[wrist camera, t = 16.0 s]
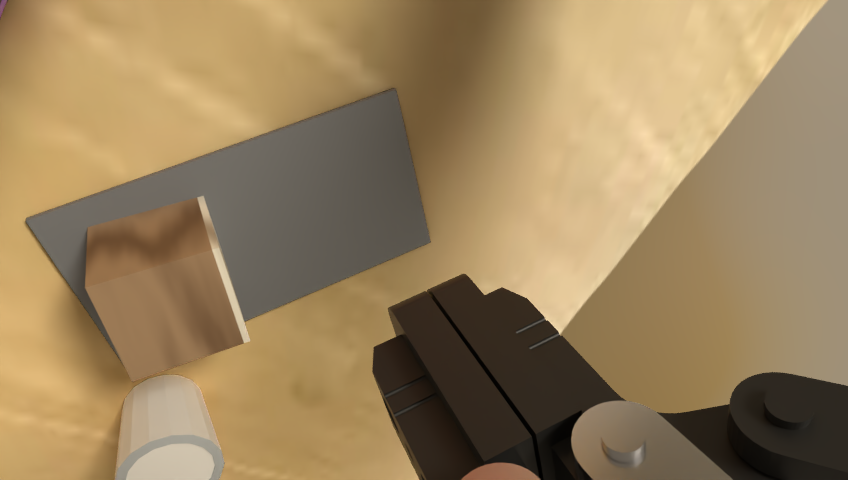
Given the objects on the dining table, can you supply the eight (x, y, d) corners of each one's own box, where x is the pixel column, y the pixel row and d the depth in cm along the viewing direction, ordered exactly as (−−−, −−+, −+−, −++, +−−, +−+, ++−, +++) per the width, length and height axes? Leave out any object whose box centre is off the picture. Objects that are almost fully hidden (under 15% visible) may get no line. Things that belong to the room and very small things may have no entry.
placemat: (394, 88, 42) (396, 89, 42) (428, 240, 50) (430, 242, 50) (26, 218, 37) (25, 221, 36) (127, 367, 44) (127, 371, 44)
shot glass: (110, 374, 44) (111, 446, 38) (212, 362, 47) (226, 427, 41) (114, 445, 47) (116, 522, 41) (209, 430, 50) (222, 499, 44)
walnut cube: (219, 247, 35) (85, 287, 33) (250, 340, 38) (132, 381, 36) (203, 195, 40) (87, 227, 38) (232, 281, 44) (128, 314, 42)
